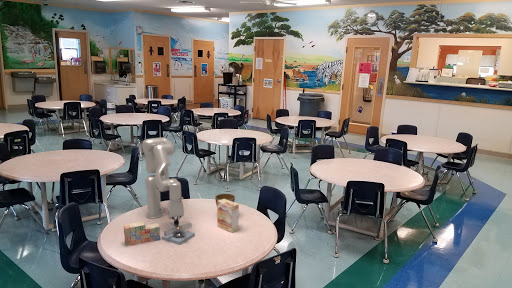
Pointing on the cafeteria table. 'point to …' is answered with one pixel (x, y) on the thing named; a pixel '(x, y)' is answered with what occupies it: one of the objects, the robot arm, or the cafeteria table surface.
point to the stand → (178, 240)
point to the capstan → (178, 230)
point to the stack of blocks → (141, 233)
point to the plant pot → (225, 197)
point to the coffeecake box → (227, 215)
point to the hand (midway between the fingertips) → (176, 225)
